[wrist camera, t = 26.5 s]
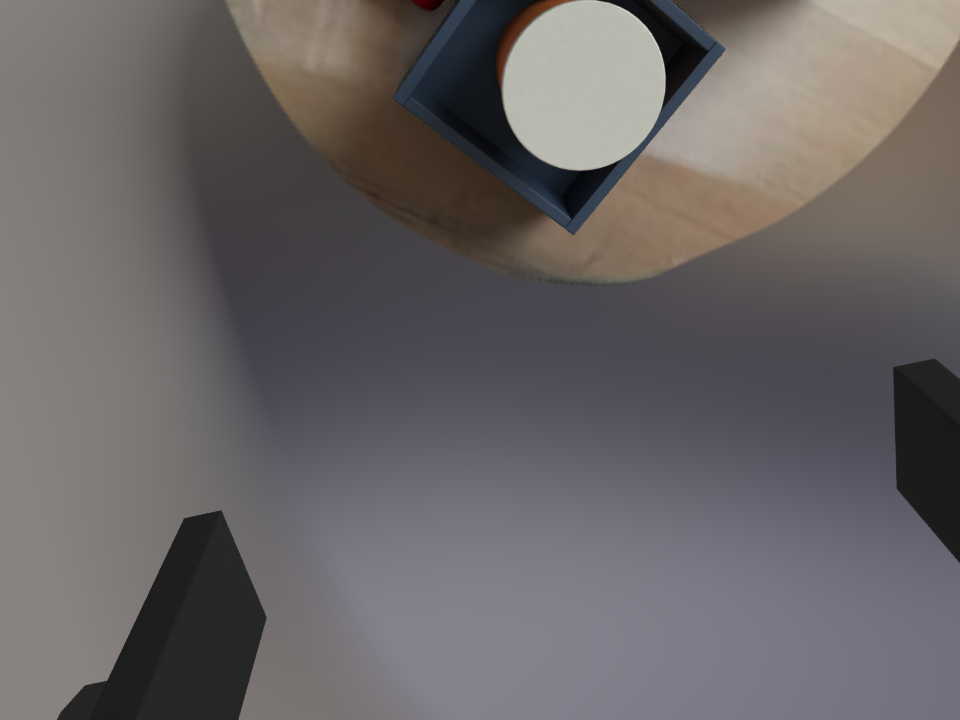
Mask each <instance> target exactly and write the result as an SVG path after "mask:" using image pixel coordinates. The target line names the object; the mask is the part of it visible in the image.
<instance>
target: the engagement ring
mask: <svg viewBox="0 0 960 720" xmlns="http://www.w3.org/2000/svg"><path fill="white" fill-rule="evenodd" d="M410 1H412V2H413V3H415V4H416V5H417V6H419V7H420V8H422V9H424V10H426V11H434V10H436V9H437V8H438V7H439V6H440V5H441V4H442V3H443V1H444V0H410Z"/></svg>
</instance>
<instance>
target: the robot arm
mask: <svg viewBox="0 0 960 720" xmlns="http://www.w3.org/2000/svg"><path fill="white" fill-rule="evenodd" d="M893 372H894V373H893V374H894V409H895V441H896V442H895V444H896V478H897V489H898V491H899V492H900V493H901V494H902V495H903V497H904V498H905V499H906V500H907V501H908V502H909V504H910V505H911V506H912V507H913V508H914V510H915V511H916V512H917V513H918V514H919V515H920V517H921V518H922V519H923V520H924V521H925V522H926V524H927V525H928V526H929V527H930V528H931V530H932V531H933V532H934V533H935V534H936V535H937V537H938V538H939V539H940V540H941V541H942V543H943V544H944V545H945V546H946V547H947V548H948V550H949V551H950V552H951V553H952V554H953V556H954V557H955V558H956V559H957V560H958V561H959V563H960V379H959V378H958V377H956V376H955V375H954V374H953V373H951V372H950V371H949V370H948V369H947V368H945V367H944V366H943V365H942V364H941V363H939V362H938V361H937V360H936V359H930V360H926V361H921V362H916V363H911V364H906V365H902V366H897V367H893ZM266 618H267V617H266V615H265V612H264V610H263V608H262V605H261V603H260V601H259V598H258V596H257V594H256V591H255V589H254V587H253V584H252V582H251V579H250V577H249V575H248V572H247V570H246V568H245V565H244V563H243V560H242V558H241V556H240V553H239V551H238V549H237V546H236V544H235V542H234V539H233V537H232V534H231V532H230V530H229V528H228V525H227V523H226V520H225V518H224V516H223V513H222V511H216V512H212V513H207V514H202V515H197V516H193V517H188V518H184V520H183V522H182V524H181V526H180V528H179V530H178V533H177V535H176V537H175V539H174V541H173V543H172V545H171V547H170V550H169V551H168V554H167V556H166V558H165V560H164V562H163V564H162V566H161V568H160V570H159V573H158V575H157V577H156V579H155V581H154V583H153V585H152V588H151V590H150V592H149V594H148V596H147V598H146V600H145V602H144V604H143V606H142V608H141V611H140V613H139V615H138V617H137V619H136V621H135V623H134V625H133V628H132V630H131V632H130V634H129V636H128V638H127V640H126V642H125V645H124V647H123V649H122V651H121V653H120V655H119V657H118V659H117V661H116V663H115V666H114V668H113V670H112V672H111V674H110V676H109V678H108V680H107V681H104V682H99V683H94V684H90V685H85V686H84V687H83V688H82V689H81V690H80V692H79V693H78V694H77V695H76V696H75V697H74V698H73V699H72V701H70V703H69V704H68V705H67V706H66V707H65V708H64V709H63V710H62V711H61V713H60V715H59V717H58V719H57V720H238V719H239V715H240V712H241V708H242V705H243V701H244V697H245V694H246V690H247V686H248V683H249V679H250V676H251V672H252V668H253V665H254V661H255V657H256V654H257V650H258V647H259V643H260V639H261V636H262V632H263V628H264V625H265V621H266Z"/></svg>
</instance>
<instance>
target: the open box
mask: <svg viewBox="0 0 960 720" xmlns="http://www.w3.org/2000/svg"><path fill="white" fill-rule="evenodd" d="M535 1H538V0H457V1H456V3H455V4H454V6H453V7H452V9H451V10H450V12H449V13H448V14H447V16H446V17H445V19H444V20H443V22H442V23H441V25H440V26H439V28H438V29H437V30H436V32H435V33H434V35H433V36H432V38H431V39H430V41H429V42H428V43H427V45H426V46H425V48H424V49H423V51H422V52H421V54H420V55H419V56H418V58H417V59H416V61H415V62H414V64H413V65H412V67H411V68H410V70H409V71H408V72H407V74H406V75H405V77H404V78H403V80H402V81H401V83H400V84H399V86H398V88H397V90H396V92H395V94H394V96H393V99H394V100H395V101H397V102H398V103H399V104H401V105H402V106H404V107H405V108H406V109H407V110H409V111H410V112H411V113H413V114H414V115H415V116H416V117H418V118H419V119H420V120H422V121H423V122H424V123H426V124H427V125H428V126H430V127H431V128H432V129H434V130H435V131H436V132H438V133H439V134H440V135H442V136H443V137H444V138H446V139H447V140H448V141H450V142H451V143H452V144H454V145H455V146H456V147H457V148H459V149H460V150H461V151H463V152H464V153H465V154H467V155H468V156H469V157H471V158H472V159H473V160H475V161H476V162H477V163H479V164H480V165H481V166H483V167H484V168H485V169H487V170H488V171H489V172H491V173H492V174H493V175H495V176H496V177H497V178H498V179H500V180H501V181H502V182H504V183H505V184H506V185H508V186H509V187H510V188H512V189H513V190H514V191H516V192H517V193H518V194H520V195H521V196H522V197H524V198H525V199H526V200H528V201H529V202H530V203H532V204H533V205H534V206H536V207H537V208H538V209H539V210H541V211H542V212H543V213H545V214H546V215H547V216H549V217H550V218H551V219H553V220H554V221H555V222H557V223H558V224H559V225H561V226H562V227H563V228H565V229H566V230H567V231H569V232H570V233H571V234H573V235H574V234H575V233H576V232H577V231H578V229H579V228H580V227H581V226H582V224H583V223H584V222H585V221H586V220H587V218H588V217H589V216H590V215H591V213H592V212H593V211H594V210H595V209H596V207H597V206H598V205H599V204H600V202H601V201H602V200H603V199H604V198H605V196H606V195H607V194H608V193H609V191H610V190H611V189H612V188H613V187H614V185H615V184H616V183H617V182H618V180H619V179H620V178H621V177H622V176H623V174H624V173H625V172H626V171H627V170H628V168H629V167H630V166H631V165H632V163H633V162H634V161H635V160H636V159H637V157H638V156H639V155H640V154H641V152H642V151H643V150H644V149H645V148H646V146H647V145H648V144H649V143H650V141H651V140H652V139H653V138H654V137H655V135H656V134H657V133H658V132H659V130H660V129H661V128H662V127H663V126H664V124H665V123H666V122H667V121H668V119H669V118H670V117H671V116H672V115H673V113H674V112H675V111H676V110H677V108H678V107H679V106H680V105H681V104H682V102H683V101H684V100H685V99H686V97H687V96H688V95H689V94H690V93H691V91H692V90H693V89H694V88H695V86H696V85H697V84H698V83H699V82H700V80H701V79H702V78H703V77H704V75H705V74H706V73H707V72H708V71H709V69H710V68H711V67H712V66H713V64H714V63H715V62H716V61H717V60H718V58H719V57H720V56H721V55H722V53H723V52H724V51H725V48H724V47H723V46H722V45H721V44H719V43H718V42H716V40H715V39H714V38H713V37H711V36H710V35H709V34H708V33H707V32H706V31H705V30H704V29H702V28H701V27H700V26H699V25H698V24H697V23H696V22H694V21H693V20H692V19H691V18H690V17H689V16H688V15H687V14H685V13H684V12H683V11H682V10H681V9H680V8H679V7H677V6H676V5H675V4H674V3H673V2H672V1H671V0H597V1H602V2H607V3H611V4H613V5H616V6H619V7H621V8H623V9H625V10H626V11H628V12H630V13H631V14H632V15H634V16H635V17H637V18H638V19H639V20H640V21H641V22H642V23H643V24H644V25H645V26H646V27H647V29H648V30H649V31H650V33H651V34H652V36H653V37H654V39H655V41H656V43H657V44H658V47H659V50H660V52H661V55H662V59H663V63H664V68H665V94H664V100H663V104H662V108H661V111H660V113H659V116H658V118H657V120H656V122H655V124H654V126H653V128H652V130H651V131H650V132H649V134H648V135H647V137H646V138H645V139H644V140H643V141H642V142H641V144H640V145H639V146H638V147H637V148H635V149H634V150H633V151H632V152H631V153H630V154H628V155H627V156H625V157H624V158H622V159H621V160H619V161H617V162H615V163H613V164H610V165H607V166H605V167H602V168H597V169H593V170H583V171H577V170H567V169H561V168H558V167H555V166H552V165H549V164H547V163H545V162H543V161H541V160H540V159H538V158H537V157H535V156H534V155H532V154H531V153H530V152H529V151H528V150H527V149H526V148H525V147H524V146H523V145H522V144H521V143H520V141H519V140H518V139H517V137H516V136H515V134H514V133H513V131H512V129H511V127H510V125H509V123H508V120H507V117H506V114H505V111H504V107H503V102H502V94H501V90H500V87H499V84H498V81H497V77H496V71H495V55H496V50H497V45H498V42H499V39H500V37H501V35H502V32H503V30H504V29H505V27H506V26H507V24H508V23H509V21H510V20H511V19H512V18H513V17H514V16H515V15H516V14H517V13H518V12H519V11H520V10H521V9H523V8H524V7H526V6H527V5H529V4H531V3H533V2H535Z"/></svg>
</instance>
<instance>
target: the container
mask: <svg viewBox="0 0 960 720" xmlns="http://www.w3.org/2000/svg"><path fill="white" fill-rule="evenodd" d="M495 71H496V77H497V81H498V84H499V87H500V90H501V94H502V102H503V107H504V111H505V114H506V117H507V120H508V123H509V125H510V127H511V129H512V131H513V133H514V134H515V136H516V137H517V139H518V140H519V141H520V143H521V144H522V145H523V146H524V147H525V148H526V149H527V150H528V151H529V152H530V153H531V154H532V155H534V156H535V157H537V158H538V159H540V160H541V161H543V162H545V163H547V164H549V165H552V166H555V167H558V168H561V169H567V170H577V171H583V170H593V169H597V168H602V167H605V166H607V165H610V164H613V163H615V162H617V161H619V160H621V159H622V158H624V157H625V156H627V155H628V154H630V153H631V152H632V151H633V150H634V149H635V148H637V147H638V146H639V145H640V144H641V142H642V141H643V140H644V139H645V138H646V137H647V135H648V134H649V132H650V131H651V130H652V128H653V126H654V124H655V122H656V120H657V118H658V116H659V113H660V111H661V108H662V104H663V100H664V94H665V68H664V63H663V59H662V55H661V52H660V50H659V47H658V44H657V43H656V41H655V39H654V37H653V36H652V34H651V33H650V31H649V30H648V29H647V27H646V26H645V25H644V24H643V23H642V22H641V21H640V20H639V19H638V18H637V17H635V16H634V15H632V14H631V13H630V12H628V11H626V10H625V9H623V8H621V7H619V6H616V5H613V4H611V3H607V2H602V1H597V0H538V1H535V2H533V3H531V4H529V5H527V6H526V7H524V8H523V9H521V10H520V11H519V12H518V13H517V14H516V15H515V16H514V17H513V18H512V19H511V20H510V21H509V23H508V24H507V26H506V27H505V29H504V30H503V32H502V35H501V37H500V39H499V42H498V45H497V50H496V55H495Z"/></svg>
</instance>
